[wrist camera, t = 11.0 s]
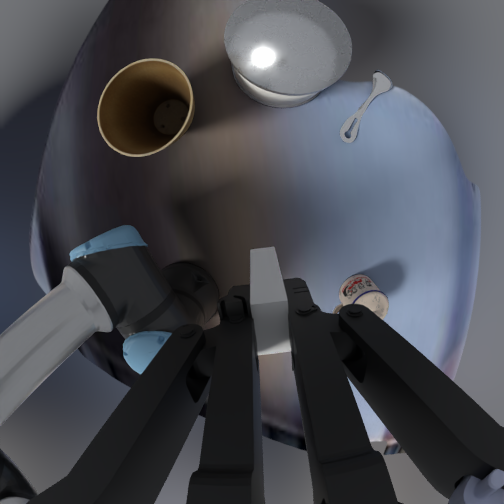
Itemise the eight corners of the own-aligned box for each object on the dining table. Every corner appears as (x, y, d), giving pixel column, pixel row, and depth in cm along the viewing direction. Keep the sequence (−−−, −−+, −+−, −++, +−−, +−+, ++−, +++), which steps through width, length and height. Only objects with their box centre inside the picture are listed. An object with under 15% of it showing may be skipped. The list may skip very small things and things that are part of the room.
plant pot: (124, 122, 46) (81, 114, 31) (176, 69, 42) (149, 41, 27) (169, 170, 50) (137, 178, 35) (225, 117, 46) (215, 101, 31)
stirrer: (357, 148, 45) (337, 133, 44) (350, 149, 48) (331, 135, 47) (398, 77, 40) (381, 63, 39) (390, 81, 44) (374, 68, 43)
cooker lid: (232, 101, 35) (232, 99, 33) (218, -8, 27) (217, -12, 25) (357, 95, 34) (361, 94, 33) (333, -10, 26) (335, -14, 25)
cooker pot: (237, 112, 46) (234, 100, 35) (226, 31, 40) (221, 3, 28) (333, 106, 45) (356, 94, 34) (318, 26, 39) (334, 0, 28)
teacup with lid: (367, 265, 57) (389, 289, 46) (377, 296, 60) (398, 322, 49) (320, 290, 59) (334, 320, 48) (334, 319, 62) (348, 350, 51)
